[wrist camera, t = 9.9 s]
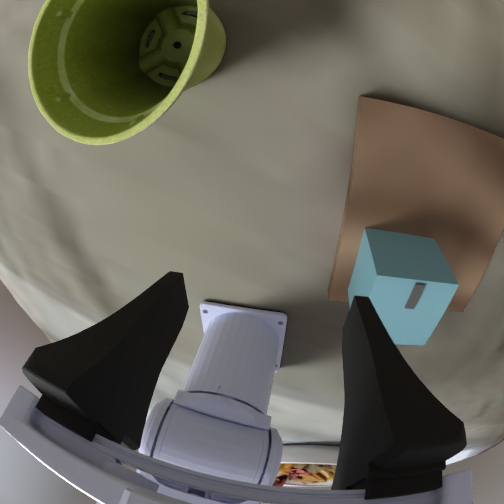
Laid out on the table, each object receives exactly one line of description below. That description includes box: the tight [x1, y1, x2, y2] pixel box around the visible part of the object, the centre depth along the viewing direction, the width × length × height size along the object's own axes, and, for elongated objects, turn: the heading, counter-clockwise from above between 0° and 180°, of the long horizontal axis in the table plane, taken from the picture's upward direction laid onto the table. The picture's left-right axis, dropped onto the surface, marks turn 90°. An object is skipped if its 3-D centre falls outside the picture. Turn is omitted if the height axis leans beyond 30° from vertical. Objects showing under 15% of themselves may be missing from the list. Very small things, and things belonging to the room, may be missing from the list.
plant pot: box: [28, 0, 226, 145], centre depth 11 cm, size 9×9×9 cm
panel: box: [328, 96, 504, 312], centre depth 17 cm, size 15×13×1 cm
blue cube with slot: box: [348, 228, 459, 345], centre depth 17 cm, size 5×5×5 cm
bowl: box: [272, 445, 340, 487], centre depth 48 cm, size 30×30×8 cm
